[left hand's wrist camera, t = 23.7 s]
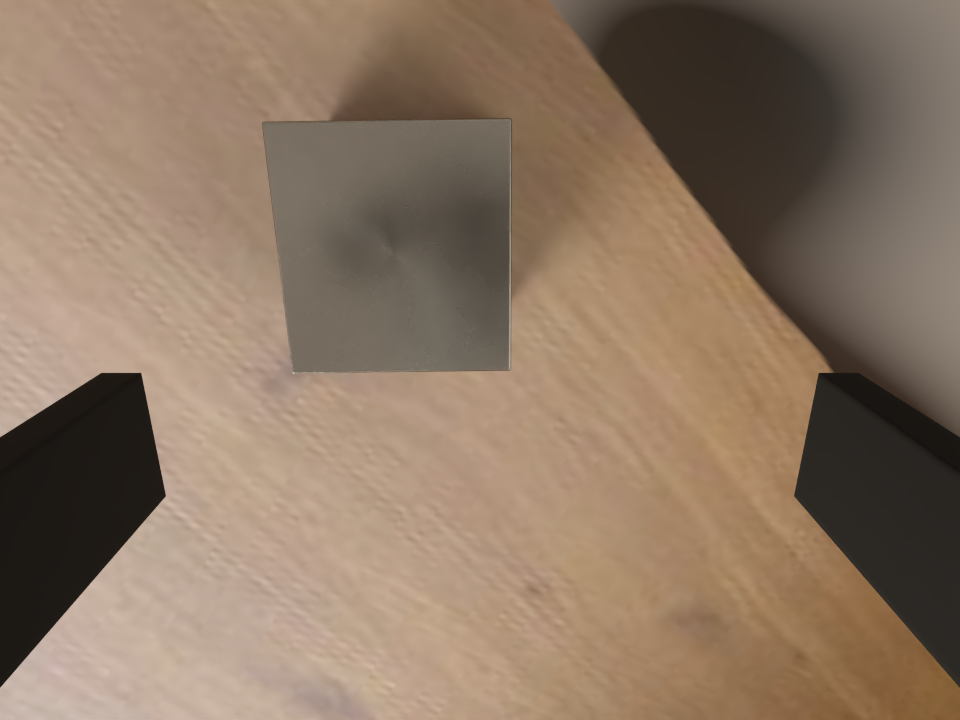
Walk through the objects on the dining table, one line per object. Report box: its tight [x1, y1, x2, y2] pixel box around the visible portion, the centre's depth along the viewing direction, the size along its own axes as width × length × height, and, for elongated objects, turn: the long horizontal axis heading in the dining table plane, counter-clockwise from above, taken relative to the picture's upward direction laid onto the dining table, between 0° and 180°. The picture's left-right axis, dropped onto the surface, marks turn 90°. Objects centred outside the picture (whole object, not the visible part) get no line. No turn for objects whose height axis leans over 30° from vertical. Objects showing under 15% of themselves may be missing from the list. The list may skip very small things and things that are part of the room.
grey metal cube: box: [262, 118, 512, 373], centre depth 26 cm, size 8×9×9 cm
